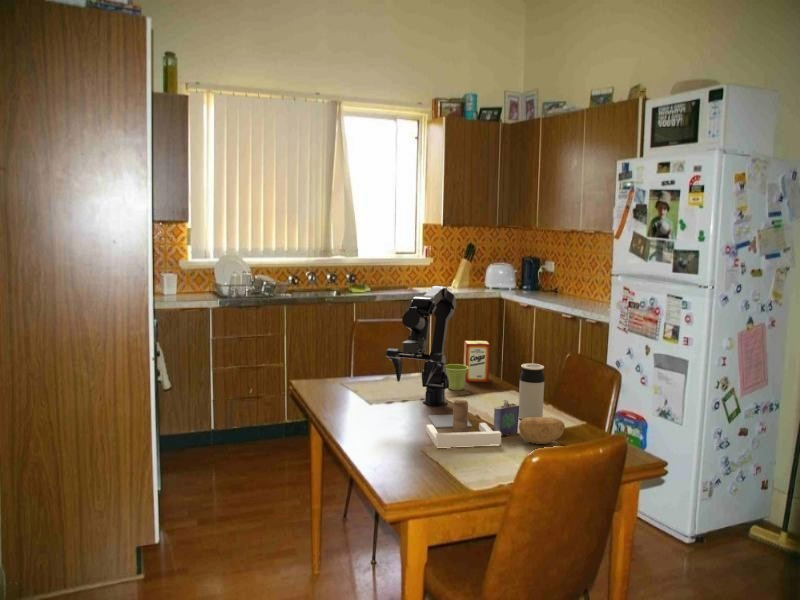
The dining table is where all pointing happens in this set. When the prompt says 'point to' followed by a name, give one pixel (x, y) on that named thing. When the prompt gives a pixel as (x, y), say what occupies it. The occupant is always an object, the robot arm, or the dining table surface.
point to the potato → (541, 429)
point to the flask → (506, 418)
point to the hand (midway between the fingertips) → (411, 383)
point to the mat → (443, 421)
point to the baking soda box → (477, 361)
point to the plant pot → (456, 376)
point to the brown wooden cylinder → (460, 415)
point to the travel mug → (531, 391)
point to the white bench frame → (464, 437)
